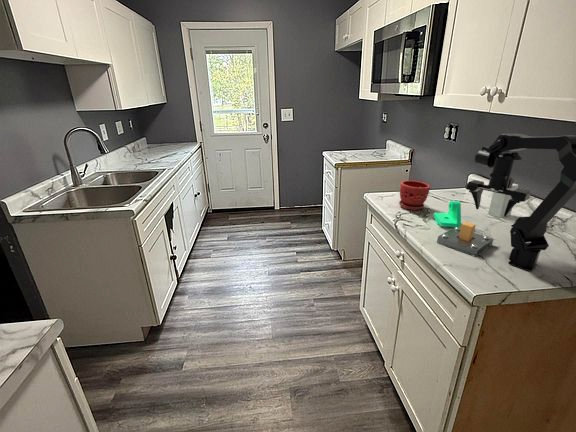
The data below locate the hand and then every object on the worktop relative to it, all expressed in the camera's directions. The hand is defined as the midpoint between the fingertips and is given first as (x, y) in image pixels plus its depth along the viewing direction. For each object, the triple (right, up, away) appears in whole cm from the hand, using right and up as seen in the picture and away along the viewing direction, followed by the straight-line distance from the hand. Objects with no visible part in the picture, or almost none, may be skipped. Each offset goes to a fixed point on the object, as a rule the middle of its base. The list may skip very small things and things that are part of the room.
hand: (490, 212), depth 114 cm
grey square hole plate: (-8, -12, +3) cm, 14 cm away
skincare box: (+24, -1, +31) cm, 39 cm away
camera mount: (-6, -5, +22) cm, 23 cm away
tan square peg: (-8, -12, +3) cm, 14 cm away
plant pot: (-13, +3, +40) cm, 42 cm away
